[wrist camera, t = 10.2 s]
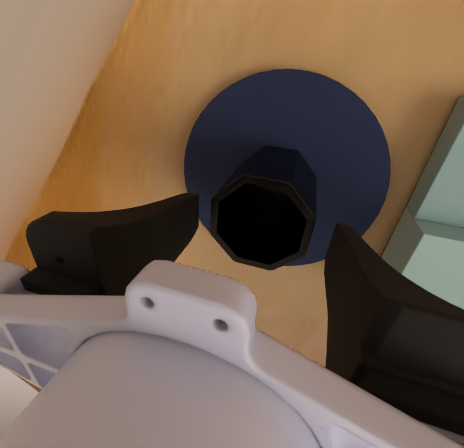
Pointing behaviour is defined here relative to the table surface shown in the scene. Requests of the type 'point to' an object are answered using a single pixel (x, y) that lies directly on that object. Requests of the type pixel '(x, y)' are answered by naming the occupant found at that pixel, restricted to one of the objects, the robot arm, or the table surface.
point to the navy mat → (295, 146)
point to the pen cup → (266, 209)
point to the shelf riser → (435, 220)
